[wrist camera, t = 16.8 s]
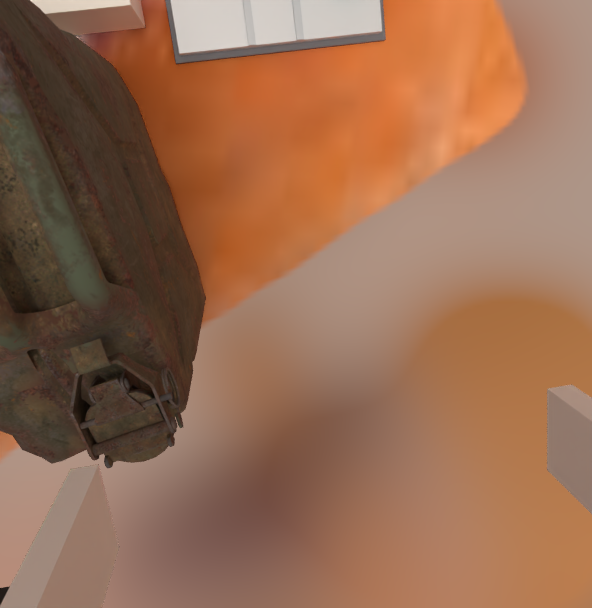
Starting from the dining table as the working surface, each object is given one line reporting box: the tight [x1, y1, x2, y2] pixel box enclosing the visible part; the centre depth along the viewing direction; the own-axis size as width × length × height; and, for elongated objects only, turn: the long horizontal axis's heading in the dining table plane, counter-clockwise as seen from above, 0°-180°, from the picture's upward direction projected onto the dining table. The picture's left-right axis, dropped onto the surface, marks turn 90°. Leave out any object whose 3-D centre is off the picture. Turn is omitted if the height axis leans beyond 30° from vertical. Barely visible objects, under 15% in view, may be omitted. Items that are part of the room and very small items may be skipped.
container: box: [0, 0, 206, 468], centre depth 34 cm, size 23×10×30 cm, turn 18°
